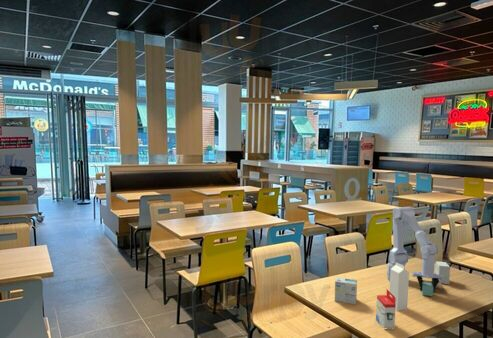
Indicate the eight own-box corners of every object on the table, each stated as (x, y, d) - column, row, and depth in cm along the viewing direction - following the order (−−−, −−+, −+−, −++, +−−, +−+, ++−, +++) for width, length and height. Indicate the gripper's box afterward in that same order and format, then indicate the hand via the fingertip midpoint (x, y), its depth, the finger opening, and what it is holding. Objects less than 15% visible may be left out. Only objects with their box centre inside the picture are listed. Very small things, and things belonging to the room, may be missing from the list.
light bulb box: (356, 299, 175) (357, 278, 174) (356, 304, 169) (356, 284, 168) (335, 295, 178) (335, 276, 177) (334, 301, 172) (334, 281, 171)
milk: (397, 311, 163) (399, 266, 161) (388, 305, 169) (390, 262, 167) (407, 309, 164) (409, 265, 163) (398, 303, 170) (400, 261, 168)
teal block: (422, 294, 179) (422, 285, 179) (420, 290, 184) (420, 281, 183) (432, 296, 178) (433, 286, 177) (430, 292, 183) (431, 283, 182)
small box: (449, 284, 194) (450, 266, 193) (438, 283, 195) (439, 265, 194) (445, 279, 201) (446, 262, 201) (434, 278, 203) (435, 261, 202)
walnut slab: (425, 291, 185) (426, 286, 185) (422, 285, 194) (422, 280, 193) (444, 293, 182) (444, 288, 182) (439, 287, 191) (439, 281, 191)
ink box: (375, 319, 155) (376, 288, 153) (385, 319, 155) (387, 288, 154) (383, 330, 146) (385, 297, 145) (395, 329, 146) (396, 297, 145)
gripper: (414, 267, 178) (413, 292, 179) (445, 270, 174) (443, 295, 175) (412, 262, 184) (410, 286, 186) (441, 265, 180) (440, 290, 182)
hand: (426, 290), depth 181 cm, fingers closed on teal block, 5 cm apart
